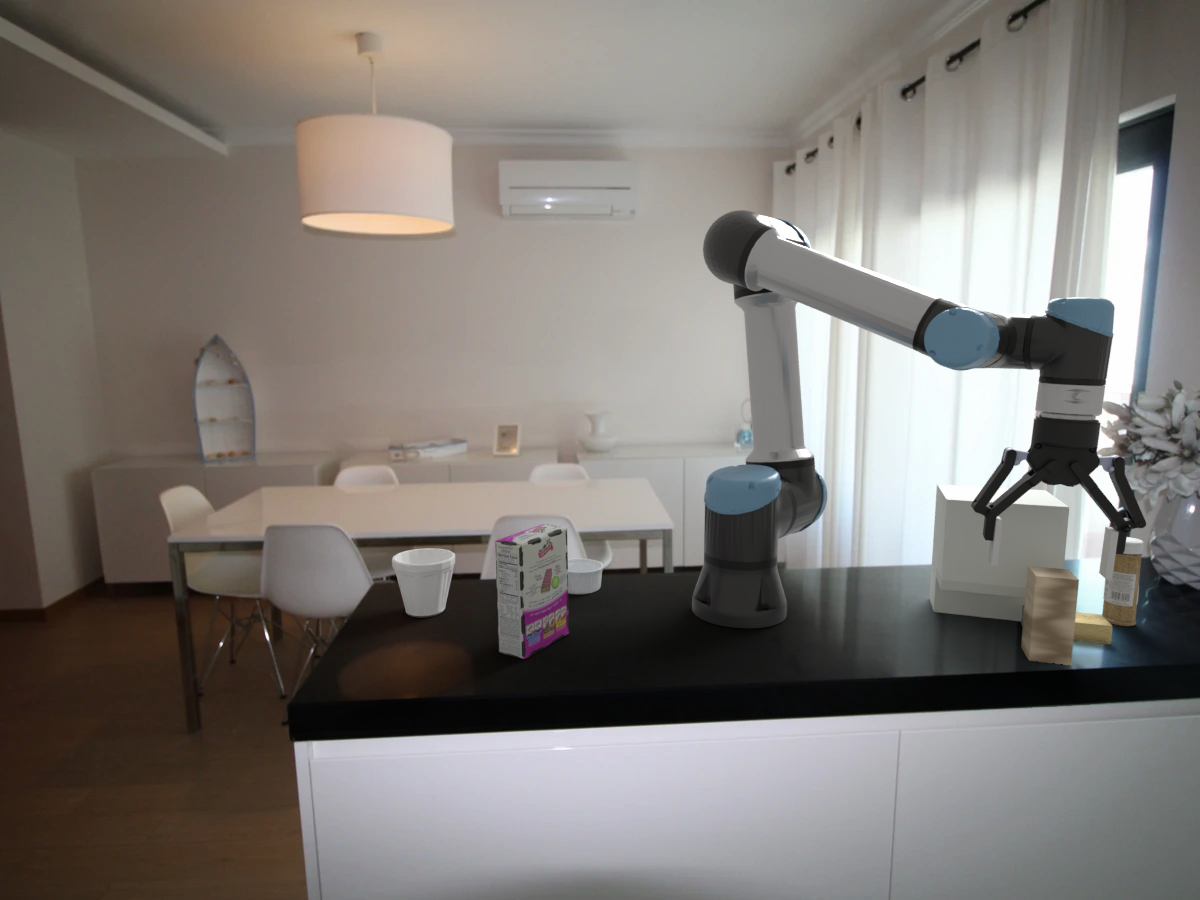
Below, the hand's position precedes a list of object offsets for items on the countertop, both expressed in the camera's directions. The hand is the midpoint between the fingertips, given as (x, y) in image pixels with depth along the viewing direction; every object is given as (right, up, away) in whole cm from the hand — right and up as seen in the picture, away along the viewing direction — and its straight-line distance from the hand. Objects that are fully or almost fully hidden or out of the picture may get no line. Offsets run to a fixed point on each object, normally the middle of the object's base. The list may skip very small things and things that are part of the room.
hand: (1047, 569), depth 100 cm
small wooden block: (+11, -12, +9) cm, 18 cm away
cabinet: (0, -10, +16) cm, 19 cm away
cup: (-90, -10, +18) cm, 92 cm away
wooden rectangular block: (+2, -12, +6) cm, 13 cm away
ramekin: (-66, -9, +30) cm, 73 cm away
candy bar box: (-71, -12, +5) cm, 72 cm away
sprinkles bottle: (+20, -11, +14) cm, 27 cm away
